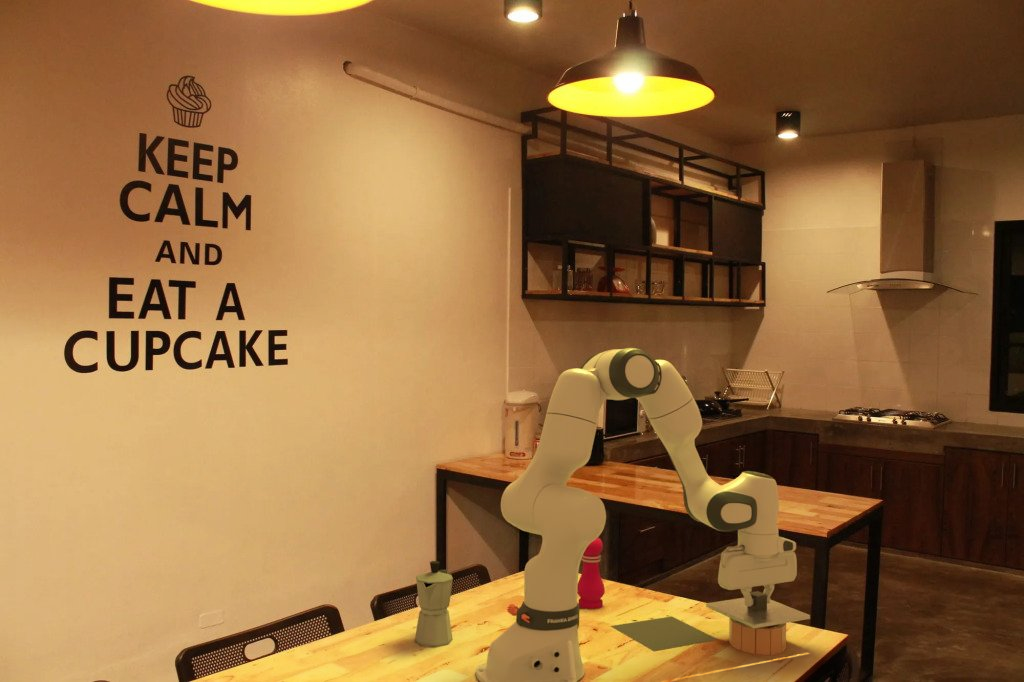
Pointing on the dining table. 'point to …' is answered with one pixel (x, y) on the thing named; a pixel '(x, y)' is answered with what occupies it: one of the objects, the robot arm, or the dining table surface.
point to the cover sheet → (758, 611)
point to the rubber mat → (663, 633)
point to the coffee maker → (434, 607)
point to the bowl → (757, 638)
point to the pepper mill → (591, 578)
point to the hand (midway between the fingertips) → (757, 604)
